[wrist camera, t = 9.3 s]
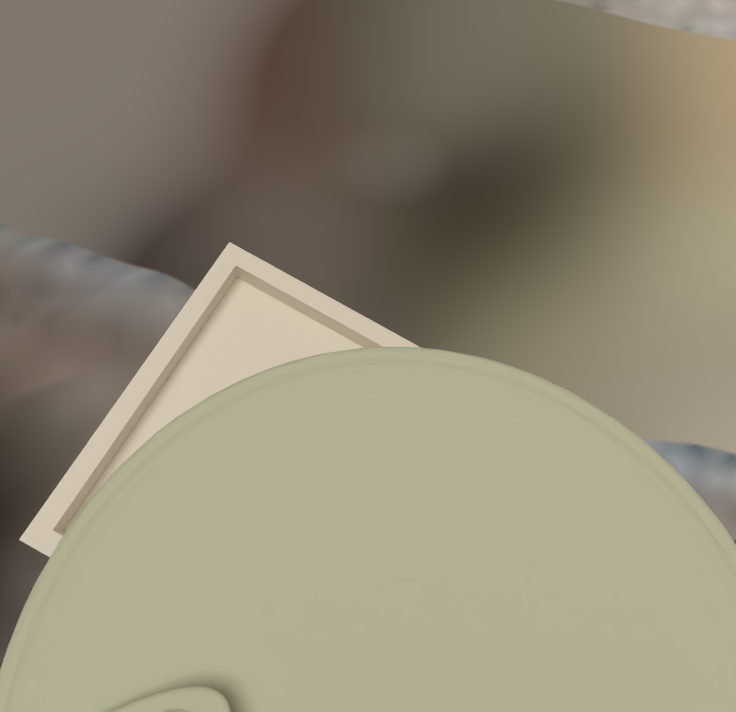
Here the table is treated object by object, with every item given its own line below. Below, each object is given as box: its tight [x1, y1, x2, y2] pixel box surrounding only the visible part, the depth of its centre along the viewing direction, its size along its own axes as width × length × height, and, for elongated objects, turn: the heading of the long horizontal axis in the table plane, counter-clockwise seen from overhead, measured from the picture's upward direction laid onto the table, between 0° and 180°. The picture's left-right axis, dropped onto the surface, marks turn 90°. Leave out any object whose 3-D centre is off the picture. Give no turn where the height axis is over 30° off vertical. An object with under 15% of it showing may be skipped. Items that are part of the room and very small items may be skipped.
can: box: [0, 347, 736, 712], centre depth 12 cm, size 9×9×12 cm
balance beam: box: [19, 242, 736, 557], centre depth 24 cm, size 30×14×8 cm, turn 63°
